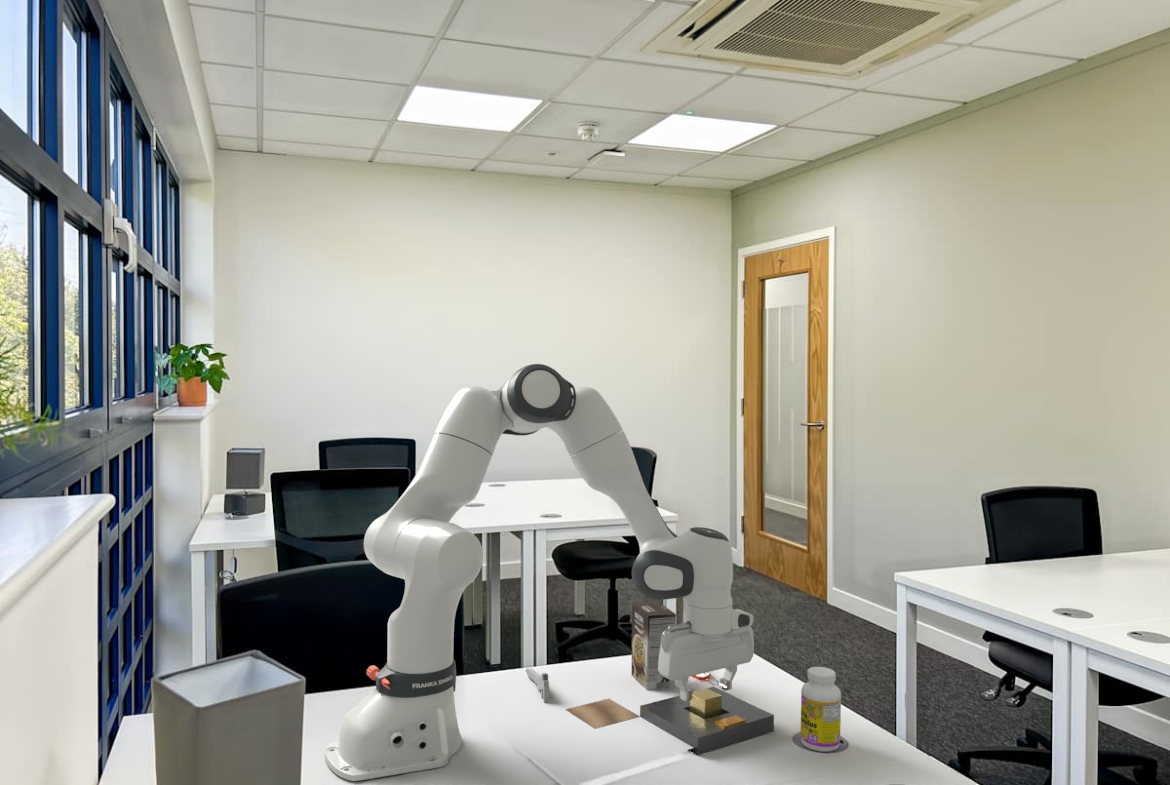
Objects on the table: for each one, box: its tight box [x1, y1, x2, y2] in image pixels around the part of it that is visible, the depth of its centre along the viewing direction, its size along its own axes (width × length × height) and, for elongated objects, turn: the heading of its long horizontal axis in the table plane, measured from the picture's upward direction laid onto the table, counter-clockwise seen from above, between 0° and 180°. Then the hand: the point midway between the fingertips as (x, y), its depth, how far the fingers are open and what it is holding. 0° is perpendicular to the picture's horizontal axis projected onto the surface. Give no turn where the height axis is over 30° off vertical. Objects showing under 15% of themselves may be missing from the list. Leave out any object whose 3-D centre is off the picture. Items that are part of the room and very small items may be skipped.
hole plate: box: [639, 686, 775, 756], centre depth 149 cm, size 18×16×3 cm
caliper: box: [525, 667, 550, 704], centre depth 167 cm, size 20×1×6 cm, turn 14°
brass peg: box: [690, 687, 722, 720], centre depth 149 cm, size 4×4×6 cm
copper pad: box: [565, 698, 641, 730], centre depth 152 cm, size 10×10×1 cm
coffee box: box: [631, 601, 677, 691], centre depth 169 cm, size 9×6×16 cm
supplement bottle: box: [800, 666, 842, 753], centre depth 142 cm, size 7×7×13 cm
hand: (706, 694), depth 149 cm, fingers open, 8 cm apart
